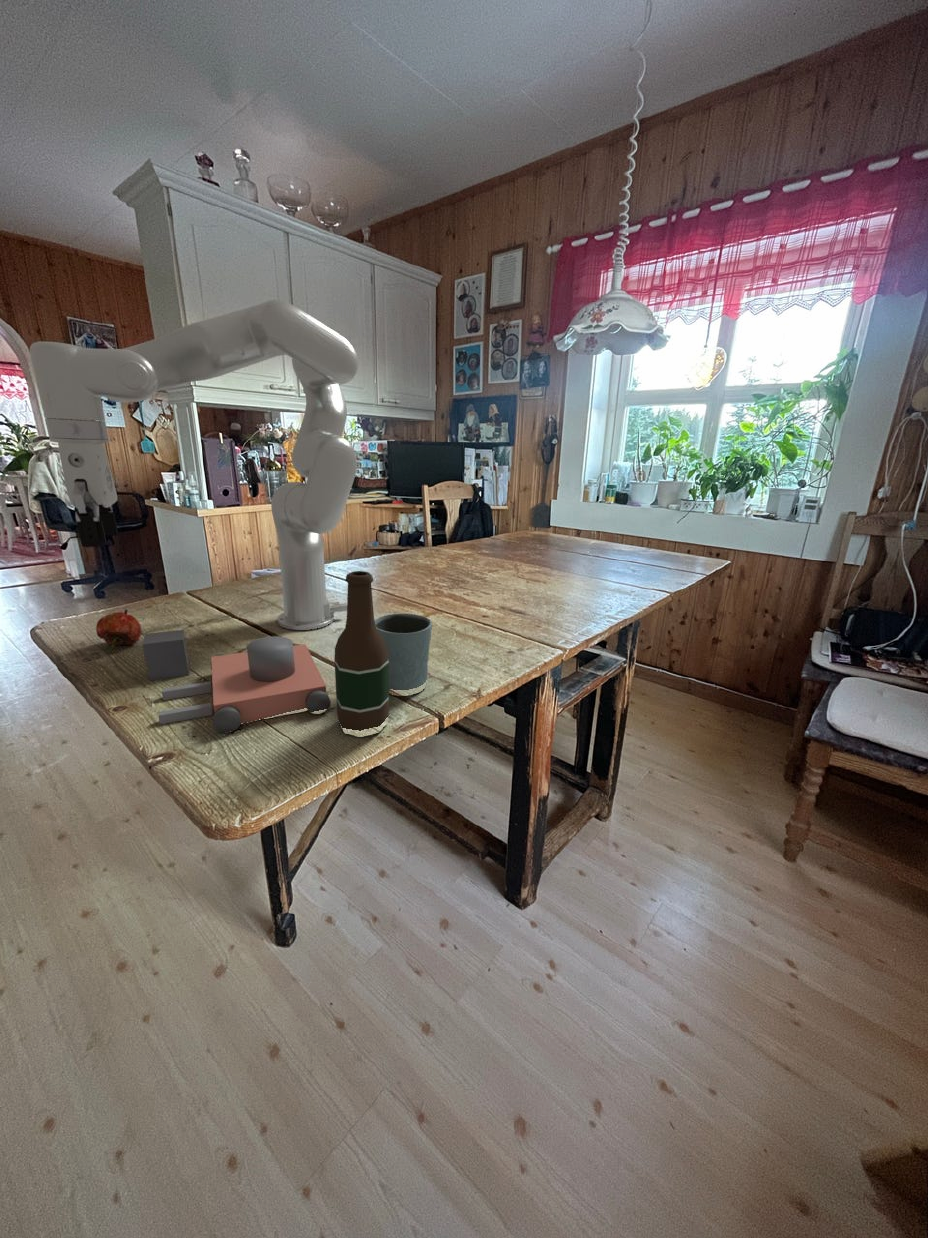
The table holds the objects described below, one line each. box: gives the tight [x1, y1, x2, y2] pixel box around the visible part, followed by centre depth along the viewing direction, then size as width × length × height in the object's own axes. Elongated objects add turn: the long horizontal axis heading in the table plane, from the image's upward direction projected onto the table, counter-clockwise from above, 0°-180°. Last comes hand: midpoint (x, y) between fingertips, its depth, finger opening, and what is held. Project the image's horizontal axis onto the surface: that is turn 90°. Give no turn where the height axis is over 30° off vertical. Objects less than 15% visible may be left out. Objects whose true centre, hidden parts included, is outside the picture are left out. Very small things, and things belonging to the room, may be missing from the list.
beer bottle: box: [334, 570, 390, 731], centre depth 70 cm, size 8×8×24 cm
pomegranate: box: [95, 609, 143, 655], centre depth 96 cm, size 7×7×10 cm
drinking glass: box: [374, 613, 433, 690], centre depth 85 cm, size 10×10×12 cm
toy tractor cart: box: [157, 635, 332, 734], centre depth 79 cm, size 24×21×9 cm
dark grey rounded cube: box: [141, 629, 190, 682], centre depth 86 cm, size 6×5×7 cm
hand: (101, 540), depth 82 cm, fingers open, 9 cm apart
